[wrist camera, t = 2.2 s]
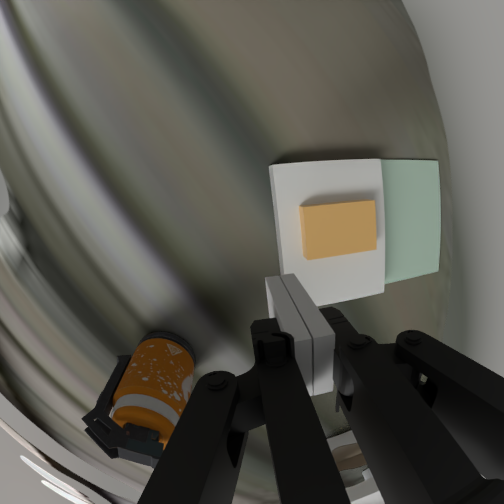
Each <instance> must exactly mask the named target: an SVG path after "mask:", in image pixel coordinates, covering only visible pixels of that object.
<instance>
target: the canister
mask: <svg viewBox="0 0 504 504" xmlns="http://www.w3.org/2000/svg"><path fill="white" fill-rule="evenodd" d="M194 367H195V355H194V352H193V350H192V349H191V347H190V346H189V345H188V344H187V343H186V342H185V341H184V340H183V339H181V338H180V337H178V336H176V335H173V334H170V333H165V332H155V333H151V334H148V335H146V336H145V337H144V338H143V339H142V340H141V341H140V342H139V344H138V346H137V348H136V350H135V352H134V354H133V356H132V358H131V355H122V356H117V365H116V367H115V369H114V371H113V373H112V375H111V377H110V379H109V380H108V382H107V384H106V386H105V388H104V390H103V392H101V394H100V396H99V398H98V400H97V404H96V406H95V408H94V409H93V410H91V411H90V412H89V413H88V414H86V415H85V416H84V417H83V418H81V419H82V420H83V421H84V422H85V424H86V425H87V426H88V427H87V428H86V429H85V430H84V431H85V432H86V433H87V434H88V435H89V436H90V437H91V438H92V439H93V441H94V442H95V443H96V444H97V445H98V446H99V447H100V448H101V449H102V450H103V451H104V452H105V453H106V454H107V455H108V456H109V457H110V458H111V459H113V458H122V459H126V460H129V461H132V462H136V463H140V464H143V465H147V466H151V467H152V468H154V469H155V467H156V465H157V463H158V461H159V459H160V457H161V455H162V453H163V451H164V449H165V447H166V445H167V443H168V441H169V439H170V436H171V434H172V432H173V430H174V428H175V426H176V424H177V422H178V420H179V418H180V416H181V414H182V412H183V410H184V408H185V406H186V404H187V402H188V400H189V398H190V394H191V387H192V380H193V374H194ZM112 407H114V409H113V411H112V414H111V418H110V417H109V414H110V411H111V409H112ZM96 418H97V420H96V421H94V419H96Z"/></svg>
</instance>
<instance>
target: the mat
mask: <svg viewBox="0 0 504 504" xmlns="http://www.w3.org/2000/svg"><path fill="white" fill-rule="evenodd" d="M381 169H382V180H383V194H384V212H385V281H384V284H387V283H391V282H395V281H400V280H404V279H408V278H413V277H417V276H421V275H425V274H429V273H433V272H437V271H438V269H439V255H440V233H441V202H440V180H439V167H438V161H431V160H381Z"/></svg>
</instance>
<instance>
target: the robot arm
mask: <svg viewBox="0 0 504 504" xmlns="http://www.w3.org/2000/svg"><path fill="white" fill-rule="evenodd" d="M265 282H266V291H267V300H268V309H269V318H268V319H262V320H255V321H254V322H253V323H252V325H251V327H250V328H251V335H252V342H253V348H254V355H255V364H254V366H253V367H252V368H251V370H249V371H248V372H246V373H244V374H242V375H239V376H236V377H235V375H234V374H232V373H230V372H227V371H213V372H210V373H207V374H205V375H204V376H202V377H201V378H200V379H199V380H198V382H197V383H196V385H195V388H194V390H193V392H192V394H191V396H190V398H189V400H188V402H187V404H186V406H185V408H184V410H183V412H182V414H181V416H180V418H179V420H178V422H177V424H176V426H175V428H174V430H173V432H172V434H171V436H170V439H169V441H168V443H167V445H166V447H165V449H164V451H163V453H162V455H161V457H160V459H159V461H158V463H157V465H156V467H155V469H154V471H153V473H152V475H151V477H150V479H149V481H148V483H147V485H146V487H145V489H144V491H143V493H142V495H141V497H140V499H139V501H138V503H137V504H231V503H232V500H233V496H234V492H235V488H236V484H237V480H238V476H239V472H240V468H241V463H242V459H243V455H244V451H245V446H246V442H247V438H248V431H249V430H251V429H254V428H257V427H259V426H261V425H264V424H266V429H267V435H268V440H269V446H270V451H271V457H272V462H273V468H274V473H275V478H276V484H277V489H278V494H279V500H280V504H351V502H350V499H349V497H348V494H347V491H346V489H345V486H344V484H343V481H342V478H341V476H340V473H339V470H338V468H337V465H336V463H335V460H334V457H333V455H332V452H331V450H330V447H329V444H328V442H327V439H326V437H325V434H324V431H323V429H322V426H321V424H320V421H319V418H318V416H317V413H316V410H315V408H314V405H313V403H312V400H311V398H310V396H312V391H313V394H314V395H318V394H322V393H326V392H330V391H333V381H334V383H335V385H336V387H337V397H336V412H339V406H341V408H342V411H343V413H344V415H345V417H346V419H347V421H348V423H349V426H350V428H351V430H352V432H353V434H354V436H355V439H356V441H357V443H358V445H359V447H360V449H361V452H362V454H363V456H364V458H365V460H366V463H367V465H368V467H369V469H370V471H371V474H372V476H373V478H374V480H375V482H376V485H377V487H378V489H379V491H380V494H381V496H382V498H383V500H384V503H385V504H504V378H503V377H502V376H500V375H498V374H496V373H495V372H493V371H491V370H489V369H487V368H486V367H484V366H482V365H480V364H479V363H477V362H475V361H474V360H472V359H470V358H468V357H466V356H465V355H463V354H461V353H459V352H458V351H456V350H454V349H452V348H450V347H449V346H447V345H445V344H443V343H442V342H440V341H438V340H436V339H434V338H433V337H431V336H429V335H427V334H425V333H423V332H421V331H417V330H407V331H404V332H401V333H400V334H399V335H398V336H397V338H396V343H390V344H378V343H377V342H376V341H375V340H374V339H373V338H372V337H370V336H367V335H364V334H359V333H358V332H357V331H356V330H355V329H354V327H353V326H352V325H351V324H350V322H349V321H348V320H347V319H346V318H345V317H344V315H343V314H342V313H341V312H340V310H338V309H336V308H333V307H327V308H321V309H318V308H317V306H316V305H315V303H314V302H313V300H312V299H311V297H310V296H309V295H308V293H307V292H306V290H305V289H304V287H303V286H302V284H301V283H300V282H299V280H298V279H297V277H296V276H295V274H294V273H291V274H284V275H280V277H279V275H278V276H271V277H265ZM422 374H423V375H425V376H426V377H428V378H427V381H426V382H422V381H421V380H420V379H421V376H422ZM481 475H483V476H484V477H485V478H486V479H485V478H483V477H482V476H481Z"/></svg>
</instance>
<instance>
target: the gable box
mask: <svg viewBox="0 0 504 504" xmlns="http://www.w3.org/2000/svg"><path fill="white" fill-rule="evenodd" d="M327 442H328V444H329V447H330V450H331V452H332V455H333V457H334V460H335V463H336V465H337V468H338V470H339V472H340V471H342V470H347V469H354V468H358V467H361V466H364V465H366V464H367V463H366V460H365V458H364V456H363V454H362V452H361V449H360V447H359V445H358V443H357V441H356V439H355V436H354V434H353V432H352V430H350V431H348V432H345V433H343V434H340V435H337V436H334V437H331V438H329V439H327ZM345 489H346V491H347V494H348V497H349V499H350V502H351V504H385V503H384V500H383V498H382V496H381V494H380V491H379V489H378V487H377V485H376V482H375V480H374V478H373V477H371V478H369V479H367V480H365V481H363V482H361V483H359V484H357V485H355V486H352V487H348V488H345Z"/></svg>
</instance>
